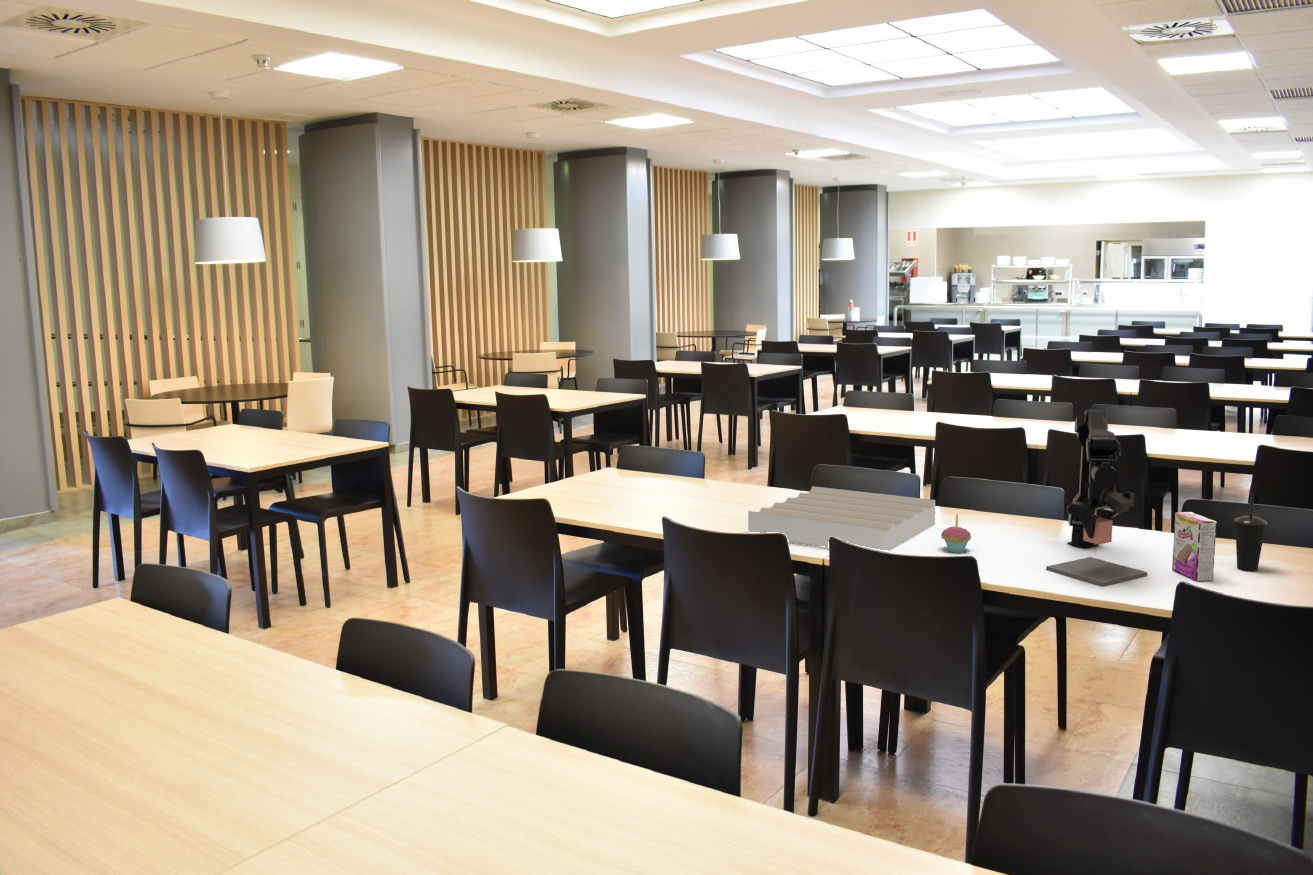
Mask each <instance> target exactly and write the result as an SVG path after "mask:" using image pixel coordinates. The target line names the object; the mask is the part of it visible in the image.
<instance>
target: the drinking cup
mask: <svg viewBox="0 0 1313 875" xmlns="http://www.w3.org/2000/svg"><path fill="white" fill-rule="evenodd" d="M1254 500H1255V499H1254V497H1250V503H1249V515H1242V516H1239V517H1235V518H1234V520H1233V521H1234V523H1235V526H1234V527H1235V544H1236V546H1235V550H1236V568H1237V569H1238V570H1239V571H1243V572H1258V570H1259V562H1260V558H1261V552H1262V547H1263V541H1264V535H1265V530H1266V526H1267V525H1268V522H1267V520H1265V519H1263V518H1261V517H1258V516H1255V515H1253V514H1254V513H1253V512H1254Z"/></svg>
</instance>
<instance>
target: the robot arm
mask: <svg viewBox="0 0 1313 875" xmlns="http://www.w3.org/2000/svg"><path fill="white" fill-rule="evenodd" d="M1105 412H1106V411H1105V410H1103V409H1086V410H1084V412H1082V413H1081V414H1079V415H1077V416H1076V418H1075V420H1074V433H1076V438H1077V440H1078V441H1079V444H1080V445H1081V449H1080V450H1081V451H1080V466H1079V467H1080V468H1079V485H1078V488H1079V489H1078V492H1077V494H1076V495H1075V496H1074V497H1073V499H1072V502H1070V503H1069V504H1068V505H1067V506H1066V507H1067V508H1066V509H1067V510H1066V513H1067V514H1068V516H1067V517H1068V518H1067V520H1068V524H1069V527H1072V530H1071V541H1068V542H1067V545H1071V546H1074V547H1078V548H1080V549H1081V548H1082V549H1088V548H1093V547H1094V548H1095V547H1097V546H1098V547H1099V546H1100V544H1095V543H1091V542H1087V541H1083V536H1084V528H1085V530H1086V533H1087V535H1088V537H1089V538H1091V539H1092V538H1093V536H1094V531H1095V523H1096V520H1097V519H1098V518H1099V517H1100V518H1105V519H1109V520H1113V521H1114V519H1115V517H1117V516H1118V515H1120V514H1122V513H1124V512H1126V513H1128V512H1129V510H1131V506H1135V493H1133V492H1131V491H1127V492H1124V493H1122V492H1117V486H1116V484H1117V483H1118V480H1119V474H1118V472H1117V470H1116V469H1115V468H1114V463H1120V460H1121V459H1122V449H1121V443H1120V442H1119V439H1118V438H1117V437H1116V435H1115V433H1114V432H1113V431H1110V430H1108V429H1109V421H1108V420H1109V417H1108V415H1106V414H1105Z"/></svg>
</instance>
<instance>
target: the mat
mask: <svg viewBox="0 0 1313 875" xmlns="http://www.w3.org/2000/svg"><path fill="white" fill-rule="evenodd" d="M1045 570H1046V571H1048V570H1049V571H1048V572H1052V573H1055V574H1058V573H1059V575H1062V576H1066V577H1070V578H1072V579H1076V580H1079V581H1083V582H1085V583H1089V584H1092V585H1096V586H1099V587H1106V586H1107V587H1108V586H1111V585H1114V584H1120V583H1123V582H1128V581H1131V580H1135V579H1140V578H1144V577H1148V572H1147V571H1145V570H1141V569H1137V568H1134V567H1129V566H1126V565H1122V564H1119V563H1114V562H1111V561H1106V560H1104V559H1103V560H1102V559H1099V558H1096V557H1092V556H1089V557H1088V556H1087V557H1083V558H1079V559H1075V560H1069V561H1065V562H1060V563H1057V564H1050V565H1046V567H1045Z"/></svg>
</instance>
